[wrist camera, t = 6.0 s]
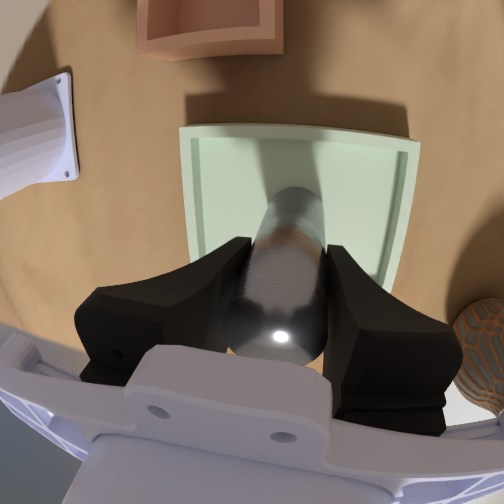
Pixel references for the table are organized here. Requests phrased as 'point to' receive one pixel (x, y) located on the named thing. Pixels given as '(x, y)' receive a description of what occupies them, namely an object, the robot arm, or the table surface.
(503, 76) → the table surface
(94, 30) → the table surface
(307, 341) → the dowel
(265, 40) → the salmon open box
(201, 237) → the tray
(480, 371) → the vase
